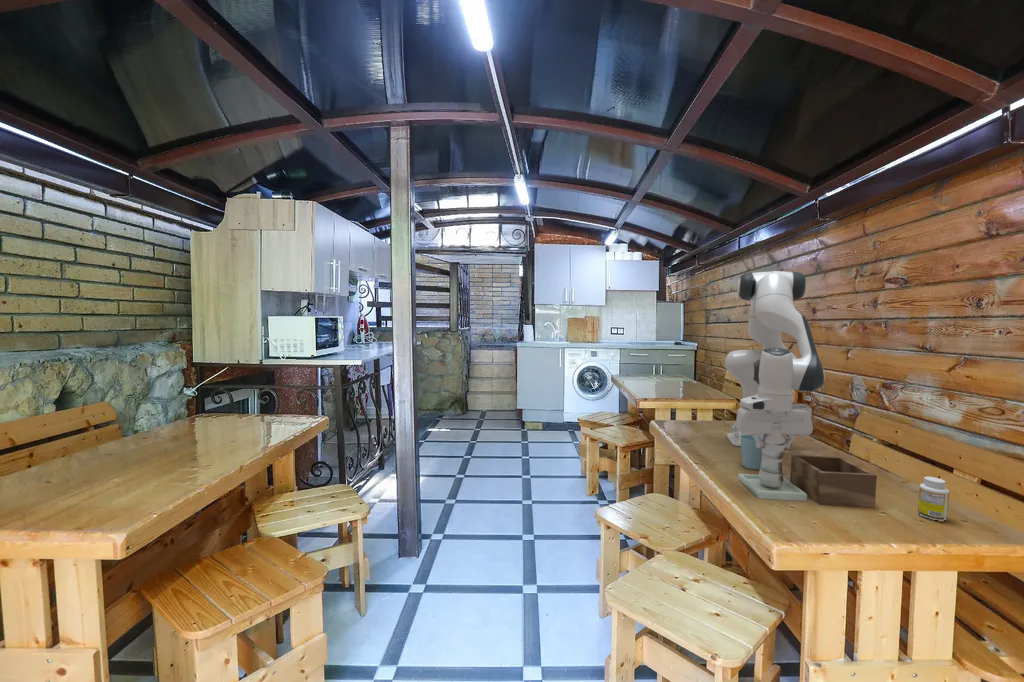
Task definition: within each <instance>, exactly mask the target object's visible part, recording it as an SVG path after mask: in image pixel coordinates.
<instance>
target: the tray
mask: <svg viewBox="0 0 1024 682" xmlns="http://www.w3.org/2000/svg"><path fill="white" fill-rule="evenodd" d="M758 475H759V474H756V473H755V474H754V473H752V474H751V473H750V474H749V473H738V476H737V480H738V481H739V482H740V483H741V484H742V483H743V484H744V485H745V486H746V487H747V490H748V491H750V492H751V493H752V494H753V495H754V496H755V497H756V498H757V499H760V500H761V499H762V500H763V499H764V500H777V499H778V500H779V501H780V500H781V501H798V502H799V501H800V502H807V500H808V496H807V494H806V493H805V492H803V491H802V490H800V489H799V488H798V487H796V486H795V485H794V484H792V483H791V482H790V480H788V479H787V478H785V477H784V476H783V484H782V486H781V487H779V488H771V487H767V486H764V485H762V484H761V483H760V481H759V476H758ZM743 484H742V485H743ZM744 485H743V486H744ZM745 486H744V487H745ZM746 487H745V488H746Z"/></svg>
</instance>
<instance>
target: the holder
mask: <svg viewBox="0 0 1024 682" xmlns="http://www.w3.org/2000/svg"><path fill="white" fill-rule="evenodd" d="M790 457H791V459H790V474H789V482H791V483H792V484H794V485H795V486H796V487H798V488H799V489H800V490H802V491H803V492H805V493H806V494H807V497H808V496H809V498H810V499H811V498H812V499H813V500H812V499H811V500H812V501H814V502H815V503H817V504H818V503H819V505H823V504H824V506H825V504H826V506H828V505H829V506H841V505H842V507H844V506H845V507H859V508H860V507H861V508H862V507H863V508H875V507H876V497H877V496H876V494H877V493H876V492H877V479H878V475H877V474H875V473H873V472H872V471H869V470H867V469H866V468H864V467H861V466H859V465H857V464H855V463H853V462H851V461H850V460H847V459H845V458H843V457H841V456H830V455H829V456H825V455H824V456H823V455H802V454H791V456H790Z"/></svg>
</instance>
